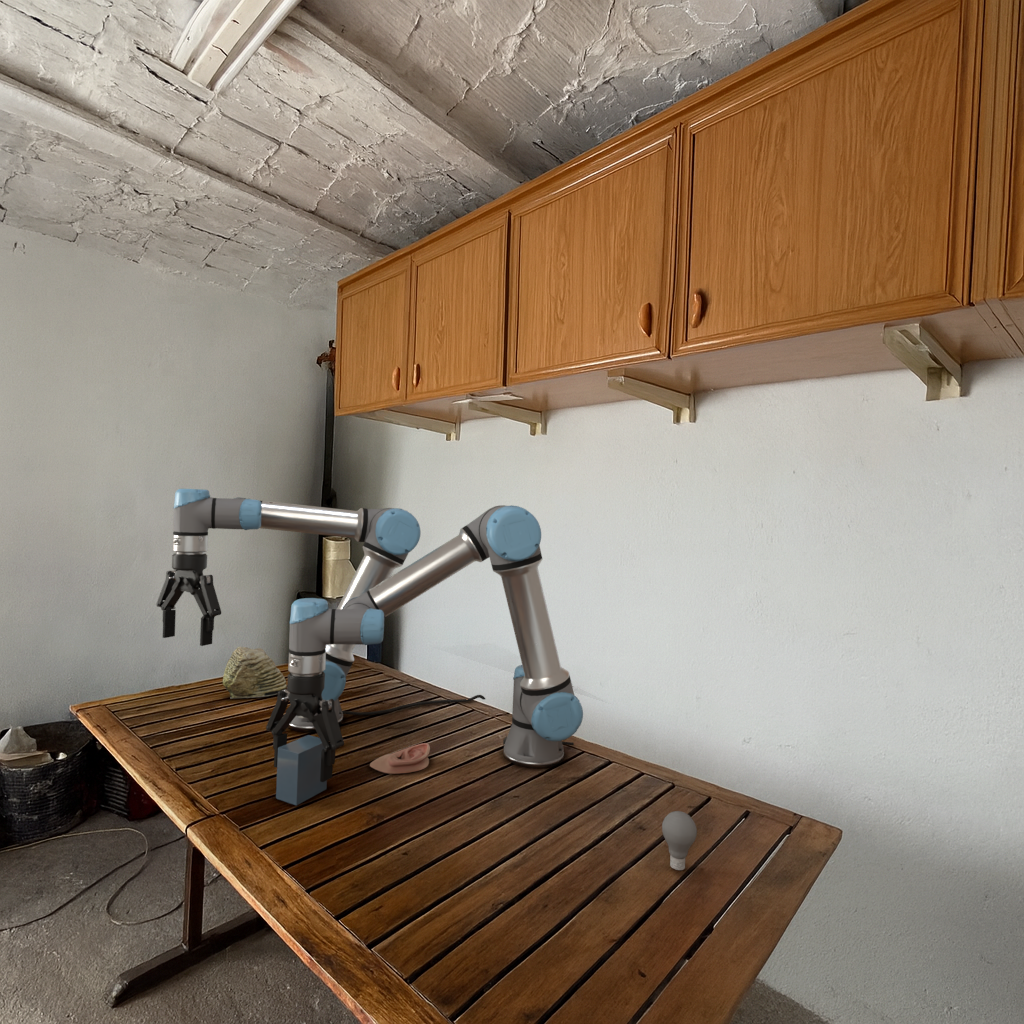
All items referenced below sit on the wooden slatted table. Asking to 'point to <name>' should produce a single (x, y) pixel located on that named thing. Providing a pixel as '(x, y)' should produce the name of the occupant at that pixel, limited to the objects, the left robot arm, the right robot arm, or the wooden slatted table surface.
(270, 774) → the wooden slatted table surface
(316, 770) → the brick
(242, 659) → the fossil
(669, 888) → the wooden slatted table surface
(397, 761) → the anatomical model
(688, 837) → the light bulb
